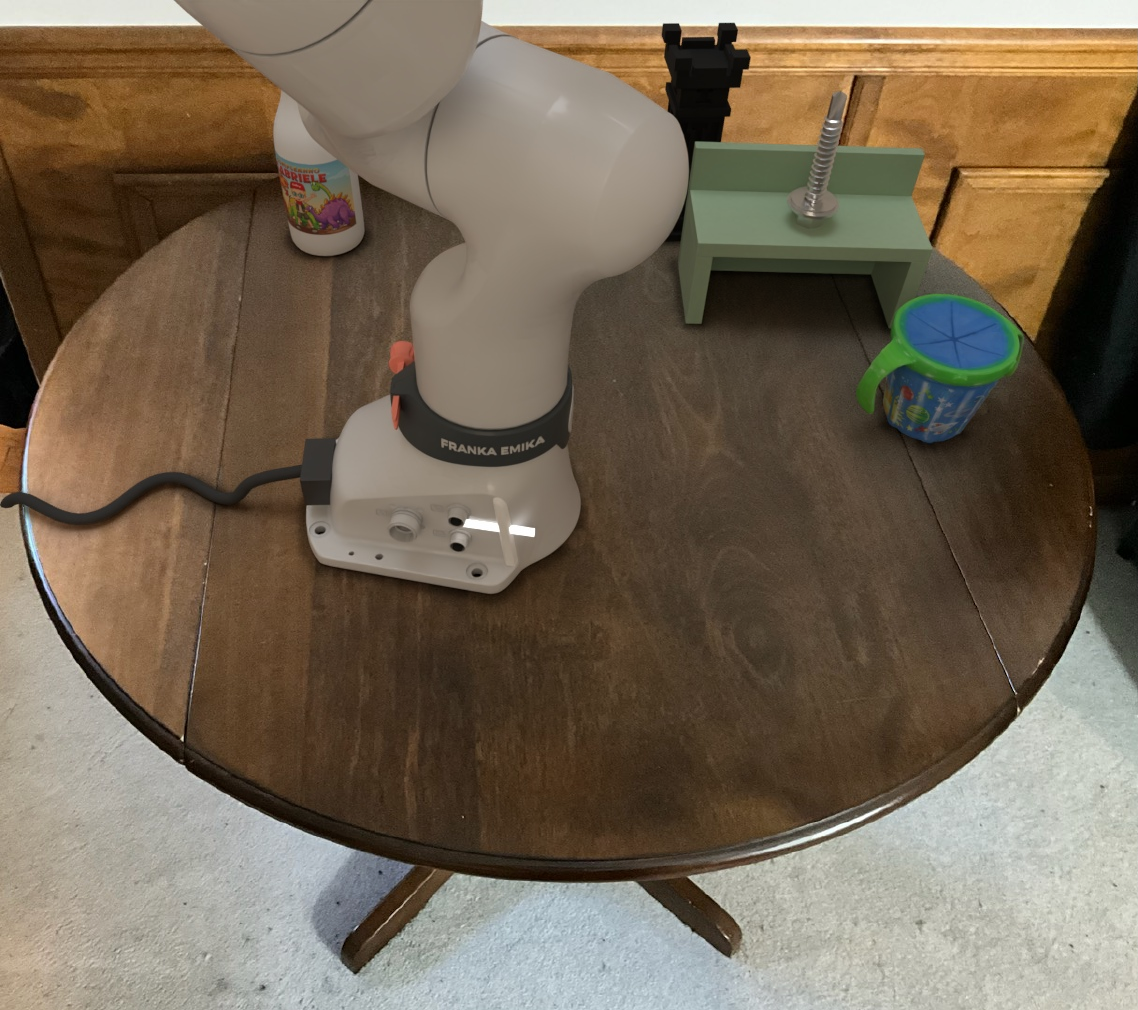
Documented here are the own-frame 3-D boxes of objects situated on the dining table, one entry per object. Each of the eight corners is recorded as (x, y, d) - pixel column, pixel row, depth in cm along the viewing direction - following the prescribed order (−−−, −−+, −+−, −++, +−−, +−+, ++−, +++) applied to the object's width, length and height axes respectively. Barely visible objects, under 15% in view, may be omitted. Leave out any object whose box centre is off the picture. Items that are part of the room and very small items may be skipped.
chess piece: (639, 199, 117) (658, 21, 102) (709, 197, 118) (737, 20, 103) (651, 241, 112) (672, 60, 97) (723, 239, 113) (755, 59, 98)
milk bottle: (304, 212, 113) (271, 28, 98) (373, 220, 113) (351, 36, 98) (281, 253, 108) (243, 67, 93) (354, 262, 108) (327, 76, 93)
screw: (773, 213, 100) (814, 201, 101) (802, 240, 97) (844, 228, 98) (801, 83, 90) (846, 72, 91) (834, 109, 87) (880, 98, 89)
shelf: (685, 323, 103) (704, 200, 93) (677, 262, 110) (694, 141, 99) (904, 329, 104) (948, 207, 93) (883, 268, 111) (922, 148, 100)
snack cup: (870, 472, 91) (902, 386, 83) (820, 391, 97) (846, 304, 90) (1026, 443, 94) (1072, 358, 86) (968, 367, 101) (1006, 281, 93)
